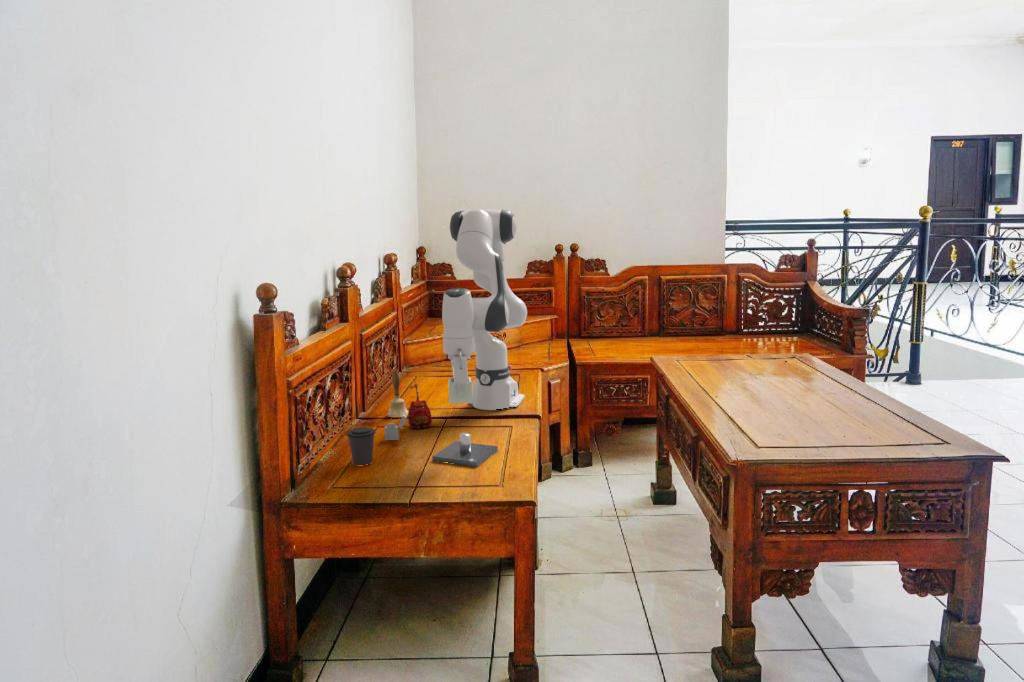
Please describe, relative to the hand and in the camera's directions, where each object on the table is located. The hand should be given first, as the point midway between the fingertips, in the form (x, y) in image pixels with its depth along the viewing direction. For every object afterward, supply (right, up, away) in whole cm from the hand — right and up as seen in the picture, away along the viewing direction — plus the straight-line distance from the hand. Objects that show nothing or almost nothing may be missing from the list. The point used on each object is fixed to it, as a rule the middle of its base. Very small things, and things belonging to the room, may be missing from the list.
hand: (460, 394), depth 206 cm
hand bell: (-25, -11, +44) cm, 52 cm away
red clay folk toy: (-15, -13, +31) cm, 37 cm away
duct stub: (+1, -18, +2) cm, 18 cm away
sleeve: (0, -2, 0) cm, 2 cm away
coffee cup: (-28, -20, -2) cm, 34 cm away
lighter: (-21, -16, +18) cm, 32 cm away
